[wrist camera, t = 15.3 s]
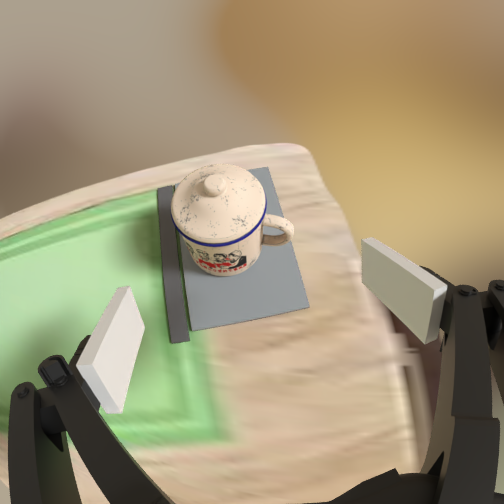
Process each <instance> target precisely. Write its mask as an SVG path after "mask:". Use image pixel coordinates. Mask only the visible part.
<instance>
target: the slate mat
mask: <svg viewBox="0 0 504 504" xmlns="http://www.w3.org/2000/svg"><path fill="white" fill-rule="evenodd" d="M247 171H248V172H250V173H251V174H252V175H254V176H255V177H256V178H257V179H258V181H259V182H260V184H261V185H262V187H263V189H264V191H265V194H266V199H267V208H266V213H265V214H271V215H276V216H280V217H282V218H284V216H283V213H282V210H281V206H280V203H279V200H278V197H277V194H276V191H275V187H274V184H273V181H272V178H271V175H270V172H269V169H268V167H263V168H257V169H251V170H247ZM179 184H180V183H178V184H175V190H176V188H177V187H178V185H179ZM283 233H284V232H283V231H281V230H279V229H277V228H273V227H268V226H263V234H267V235H280V234H283ZM179 235H180V245H181V254H182V262H183V270H184V278H185V286H186V293H187V300H188V307H189V314H190V321H191V327H192V331H198V330H203V329H209V328H215V327H220V326H225V325H231V324H236V323H241V322H246V321H251V320H256V319H260V318H265V317H270V316H274V315H279V314H283V313H288V312H292V311H297V310H301V309H305V308H309V307H310V306H309V302H308V299H307V295H306V291H305V288H304V284H303V281H302V277H301V274H300V270H299V267H298V263H297V260H296V256H295V253H294V249H293V246H292V243H291V241H289V242H288V243H287V244H284V245H281V246H265V245H262V249H261V253H260V255H259V257H258V259H257V260H256V261H255V263H254V264H253V265H252V266H251V267H250V268H248V269H247V270H245V271H244V272H242V273H239V274H236V275H232V276H216V275H212V274H210V273H207V272H205V271H204V270H202V269H201V268H200V267H199V266H198V265H197V264H196V263H195V261H194V260H193V258H192V256H191V254H190V252H189V250H188V248H187V245H186V243H185V241H184V239H183V237H182V235H181V234H180V233H179Z"/></svg>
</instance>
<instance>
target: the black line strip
mask: <svg viewBox="0 0 504 504" xmlns="http://www.w3.org/2000/svg"><path fill="white" fill-rule="evenodd" d="M172 197H173V191H172V185H171V186H166V187H162V188H158V204H159V224H160V240H161V253H162V265H163V276H164V286H165V295H166V304H167V312H168V320H169V328H170V335H171V342H172V344H173V343H180V342H186V341H190V339H189V332H188V326H187V319H186V313H185V306H184V298H183V291H182V283H181V275H180V267H179V258H178V249H177V239H176V228H175V225H174V223H173V221H172V217H171V201H172Z"/></svg>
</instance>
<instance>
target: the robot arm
mask: <svg viewBox="0 0 504 504" xmlns="http://www.w3.org/2000/svg"><path fill="white" fill-rule="evenodd" d="M361 245H362V283H363V284H364V285H365V286H366V287H367V288H368V289H369V290H370V291H371V292H372V293H373V294H374V295H376V296H377V297H378V298H379V299H380V300H381V301H382V302H383V303H384V304H385V305H386V306H387V307H388V308H389V309H390V310H391V311H392V312H393V313H394V314H395V315H396V316H397V317H398V318H399V319H400V320H401V321H402V322H403V323H404V324H405V325H406V326H407V327H408V328H409V329H410V330H411V331H412V332H413V333H414V334H415V335H416V336H417V337H418V338H419V339H420V340H421V341H422V342H423V343H424V344H427V343H429V342H431V341H433V340H436V339H437V337H438V333H439V329H440V328H441V329H442V330H443V331H444V337H443V341H442V345H441V348H440V352H442V362H441V373H440V383H439V391H438V398H437V405H436V411H435V417H434V423H433V428H432V433H431V438H430V443H429V447H428V451H427V455H426V459H425V462H424V465H423V467H422V469H421V472H420V473H407V474H400V475H399V474H398V472H397V470H396V469H395V468H394V469H392V470H390V471H388V472H385V473H383V474H381V475H378V476H376V477H373V478H371V479H368V480H366V481H363V482H362V483H360V484H358V485H357V486H355V487H354V488H352V489H351V490H349V491H347V492H346V493H344V494H342V495H340V496H339V497H337V498H335V499H334V500H332V501H329V502H321V503H304V504H504V494H501V493H495V492H494V490H495V483H496V476H497V467H498V456H499V440H500V422H499V420H498V418H493V417H492V388H491V387H492V386H491V370H490V365H491V368H492V370H493V373H494V376H495V379H496V382H497V385H498V388H499V391H500V394H501V397H502V401H503V404H504V281H503V280H493V281H491V282H490V283H489V287H488V291H484V292H478V290H477V289H475V288H474V287H472V286H469V285H458V286H454V285H453V284H451V283H450V282H448V281H447V280H445V279H444V278H442V277H440V276H439V275H438V274H435V272H433V271H432V270H430V269H428V268H426V267H422V266H418V265H416V264H414V263H413V262H412V261H410V260H409V259H407V258H405V257H404V256H402V255H401V254H399V253H398V252H395V251H394V250H393V249H391V248H389V247H388V246H386V245H385V244H383V243H381V242H380V241H378V240H376V239H375V238H373V237H372V238H366V239H362V240H361ZM144 330H145V326H144V323H143V321H142V318H141V315H140V313H139V310H138V307H137V305H136V302H135V299H134V296H133V293H132V290H131V288H130V286H125V287H120V288H117V290H116V292H115V293H114V295H113V297H112V299H111V300H110V302H109V304H108V306H107V307H106V309H105V311H104V313H103V314H102V316H101V318H100V320H99V322H98V324H97V325H96V327H95V329H94V331H93V333H92V335H87V336H86V337H85V338H84V339H83V340H82V341H81V342H80V344H79V346H78V348H77V350H76V352H75V354H74V356H73V357H72V359H71V361H70V363H69V365H68V364H67V362H66V361H65V359H64V357H63V356H61V355H53V356H50V357H48V358H47V359H45V360H44V361H43V362H42V363H41V364H40V365H39V367H38V373H39V375H40V376H41V378H42V379H43V381H44V382H45V384H46V385H47V387H46V388H43V389H39V390H37V389H36V388H35V386H34V385H33V384H32V383H31V382H24V383H22V384H19V385H18V386H17V387H16V388H15V389H14V391H13V392H12V395H11V404H10V415H9V432H8V471H9V487H10V498H11V504H82V502H81V499H80V495H79V492H78V488H77V484H76V480H75V476H74V472H73V468H72V463H71V458H70V453H69V448H68V443H67V437H66V431H67V432H68V434H69V436H70V438H71V440H72V442H73V444H74V446H75V448H76V449H77V451H78V453H79V455H80V457H81V458H82V460H83V462H84V464H85V465H86V467H87V469H88V470H89V472H90V474H91V475H92V477H93V479H94V480H95V482H96V483H97V485H98V486H99V488H100V489H101V491H102V492H103V494H104V495H105V497H106V498H107V500H108V501H109V503H110V504H175V503H174V502H173V501H172V500H171V499H170V498H169V497H168V496H167V495H166V494H165V493H164V492H163V491H162V490H161V489H160V488H159V487H158V486H157V484H156V483H155V482H154V481H153V480H152V479H151V478H150V477H149V476H148V475H147V474H146V472H145V471H144V470H143V469H142V468H141V467H140V466H139V464H138V463H137V462H136V461H135V460H134V458H133V457H132V456H131V455H130V454H129V452H128V451H127V450H126V449H125V447H124V446H123V445H122V443H121V442H120V441H119V440H118V438H117V437H116V436H115V434H114V433H113V432H112V430H111V429H110V427H109V426H108V425H107V423H106V422H105V420H104V419H103V418H102V416H101V415H100V413H99V412H98V411H99V408H100V405H101V406H102V408H103V409H104V410H105V412H106V413H107V414H111V413H122V412H123V407H124V403H125V399H126V395H127V391H128V387H129V383H130V379H131V375H132V372H133V368H134V364H135V361H136V357H137V353H138V350H139V346H140V343H141V340H142V336H143V333H144Z"/></svg>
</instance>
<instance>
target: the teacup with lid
mask: <svg viewBox="0 0 504 504" xmlns="http://www.w3.org/2000/svg"><path fill="white" fill-rule="evenodd" d="M266 208H267V199H266V194H265V191H264V189H263V187H262V185H261V184H260V182H259V181H258V179H257V178H256V177H255V176H254V175H252V174H251V173H250V172H248V171H247V170H245V169H243V168H241V167H238V166H234V165H229V164H214V165H209V166H205V167H202V168H200V169H197V170H195V171H194V172H192V173H190V174H189V175H188V176H186V177H185V178H184V179H183V180H182V181H181V182H180V184H179V185H178V187H177V188H176V190H175V192H174V194H173V197H172V201H171V217H172V221H173V223H174V225H175V227H176V229H177V230H178V231H179V233H180V234H181V235H182V237H183V239H184V241H185V243H186V245H187V248H188V250H189V252H190V254H191V256H192V258H193V260H194V261H195V263H196V264H197V265H198V266H199V267H200V268H201V269H202V270H204V271H205V272H207V273H210V274H212V275H216V276H232V275H236V274H239V273H242V272H244V271H245V270H247V269H248V268H250V267H251V266H252V265H253V264H254V263H255V261H256V260H257V259H258V257H259V255H260V253H261V249H262V245H265V246H281V245H284V244H287V243H288V242H289V241H291V239H292V237H293V234H294V227H293V225H292V224H291V223H290V222H289V221H288V220H286V219H285V218H282V217H280V216H276V215H271V214H265V213H266ZM263 226H268V227H273V228H277V229H279V230H281V231H283V232H284V233H283V234H280V235H267V234H263Z"/></svg>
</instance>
